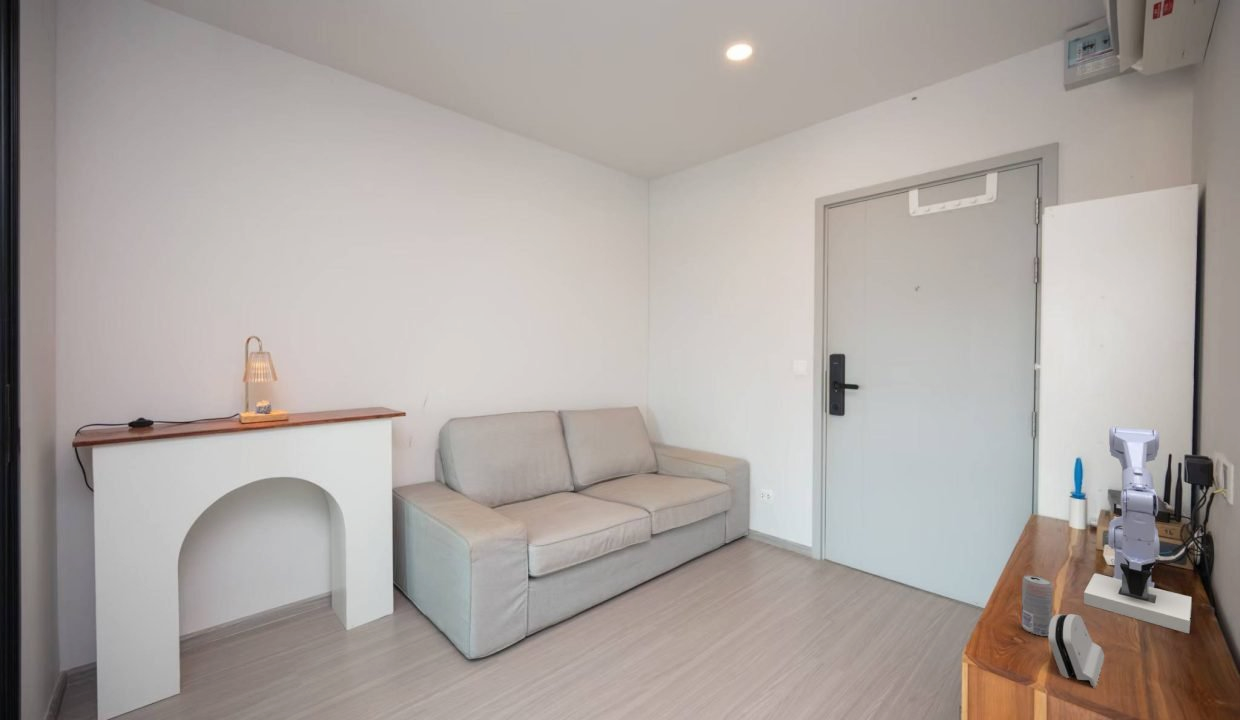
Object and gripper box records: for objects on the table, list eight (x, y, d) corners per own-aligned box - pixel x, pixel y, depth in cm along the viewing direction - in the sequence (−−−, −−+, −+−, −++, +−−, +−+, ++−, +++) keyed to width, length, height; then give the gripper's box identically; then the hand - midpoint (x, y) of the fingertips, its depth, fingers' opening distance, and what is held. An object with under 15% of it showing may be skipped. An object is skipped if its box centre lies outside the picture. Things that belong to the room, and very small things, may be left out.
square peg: (1123, 599, 132) (1124, 569, 131) (1148, 606, 128) (1148, 575, 128) (1121, 605, 129) (1122, 574, 129) (1146, 612, 125) (1147, 580, 125)
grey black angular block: (1096, 689, 96) (1073, 633, 98) (1065, 686, 99) (1043, 632, 101) (1104, 655, 107) (1084, 605, 109) (1076, 653, 110) (1057, 605, 113)
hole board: (1094, 583, 141) (1094, 573, 141) (1191, 608, 127) (1191, 597, 127) (1083, 603, 129) (1084, 592, 129) (1189, 633, 115) (1189, 620, 115)
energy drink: (1045, 627, 118) (1045, 576, 118) (1056, 639, 113) (1057, 586, 113) (1017, 622, 120) (1018, 573, 119) (1027, 634, 115) (1028, 582, 114)
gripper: (1119, 527, 136) (1118, 577, 136) (1112, 539, 126) (1111, 593, 126) (1157, 534, 130) (1156, 586, 130) (1153, 548, 121) (1152, 603, 121)
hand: (1137, 590), depth 128 cm, fingers open, 7 cm apart
